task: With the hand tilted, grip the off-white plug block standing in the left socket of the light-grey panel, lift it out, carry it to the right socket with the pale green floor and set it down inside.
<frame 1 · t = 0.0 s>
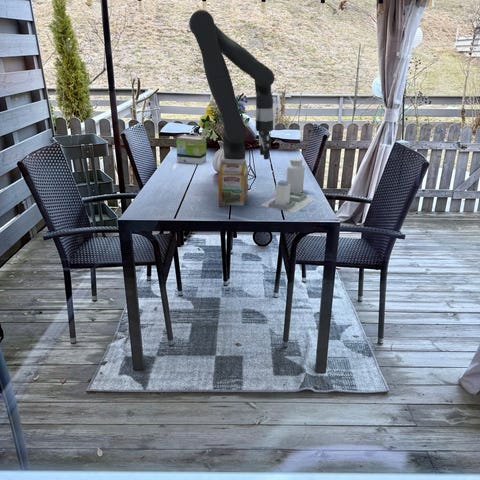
hand: (264, 157, 184), 17 cm above the table, tool pointing down, fingers open, 8 cm apart
tea box: (192, 162, 248), on the table
milk carton: (233, 204, 179), on the table
plug: (281, 205, 173), point 1 cm above the table, touching panel
pill bottle: (294, 191, 196), on the table
panel: (288, 204, 178), on the table
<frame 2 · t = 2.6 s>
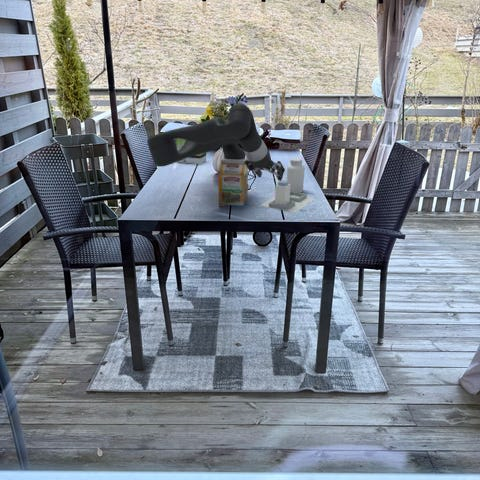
hand: (270, 177, 158), 16 cm above the table, tool tilted 45°, fingers open, 8 cm apart
nothing on the table moved.
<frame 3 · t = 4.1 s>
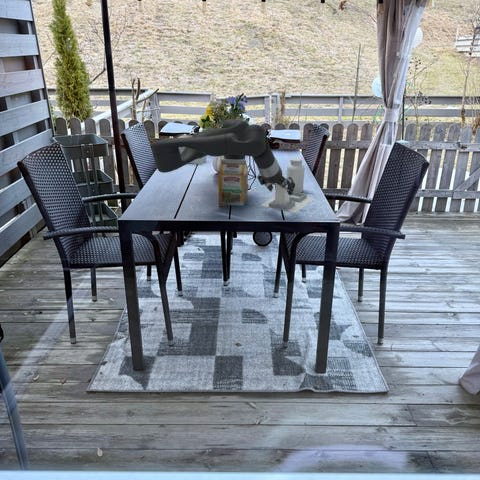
hand: (281, 191, 167), 8 cm above the table, tool tilted 45°, fingers open, 8 cm apart
nothing on the table moved.
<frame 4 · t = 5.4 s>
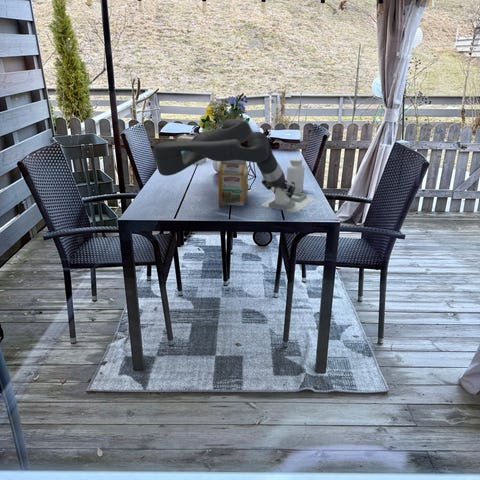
hand: (284, 194, 173), 5 cm above the table, tool tilted 45°, fingers open, 5 cm apart
plug: (281, 205, 173), point 1 cm above the table, touching gripper, panel
everything else where it was.
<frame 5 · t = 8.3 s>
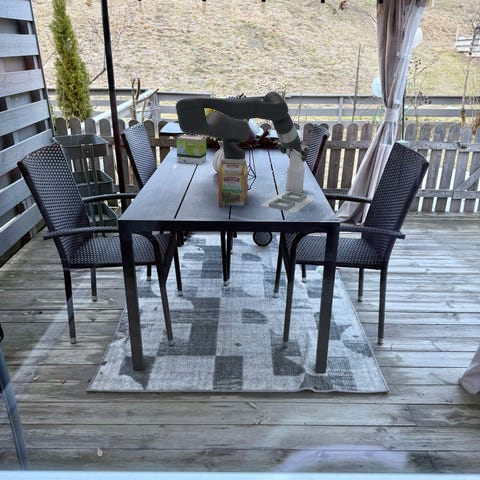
hand: (298, 159, 177), 18 cm above the table, tool tilted 45°, fingers closed on plug, 5 cm apart
plug: (296, 169, 177), point 14 cm above the table, touching gripper
everything else where it was.
when the fingers open (7 cm above the table, at t = 10.9 s): plug drops 1 cm, resting on panel.
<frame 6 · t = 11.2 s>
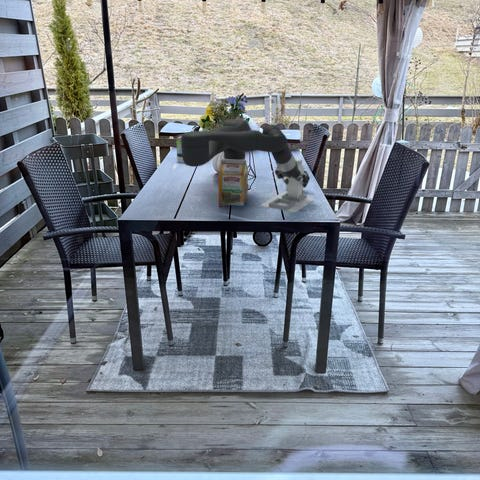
hand: (296, 184, 181), 7 cm above the table, tool tilted 45°, fingers open, 8 cm apart
plug: (294, 198, 182), point 1 cm above the table, touching panel
everything else where it was.
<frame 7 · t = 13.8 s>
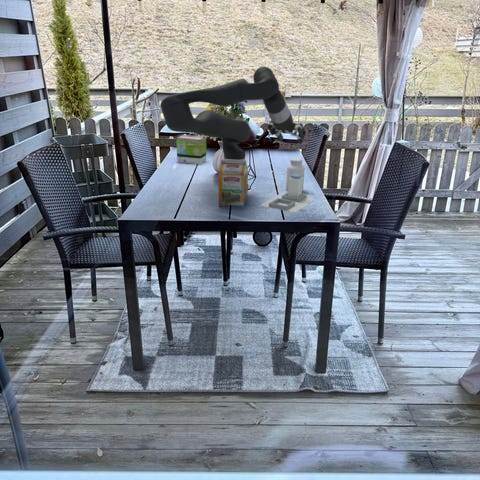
hand: (291, 141, 167), 27 cm above the table, tool tilted 45°, fingers open, 8 cm apart
nothing on the table moved.
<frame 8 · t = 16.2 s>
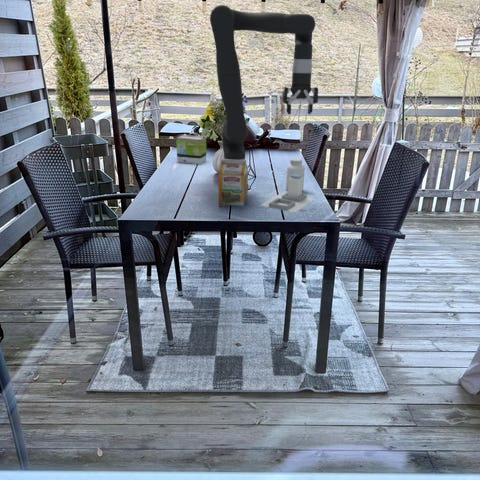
hand: (299, 114, 172), 36 cm above the table, tool pointing down, fingers open, 8 cm apart
nothing on the table moved.
at the end: plug 0.3 cm from the target spot on the panel, point 1.3 cm above the panel's base; plug tilted 0°; the gripper is holding nothing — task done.
